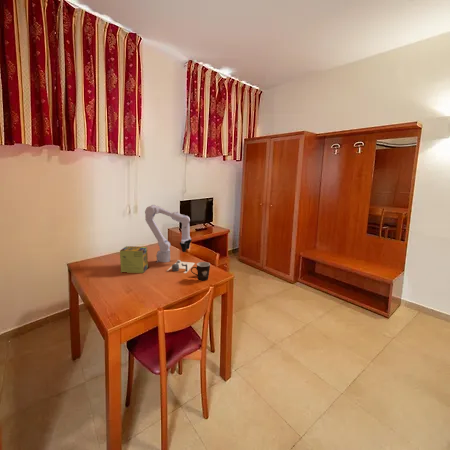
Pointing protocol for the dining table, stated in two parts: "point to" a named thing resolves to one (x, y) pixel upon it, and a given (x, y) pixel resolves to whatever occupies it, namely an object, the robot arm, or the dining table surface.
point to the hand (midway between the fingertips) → (185, 250)
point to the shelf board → (184, 266)
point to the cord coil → (175, 267)
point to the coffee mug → (202, 270)
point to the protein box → (133, 259)
